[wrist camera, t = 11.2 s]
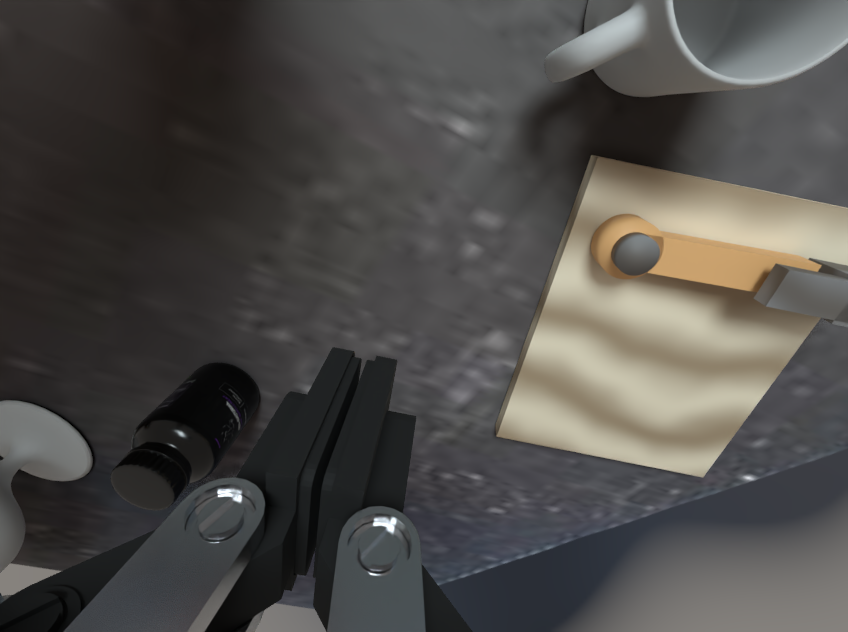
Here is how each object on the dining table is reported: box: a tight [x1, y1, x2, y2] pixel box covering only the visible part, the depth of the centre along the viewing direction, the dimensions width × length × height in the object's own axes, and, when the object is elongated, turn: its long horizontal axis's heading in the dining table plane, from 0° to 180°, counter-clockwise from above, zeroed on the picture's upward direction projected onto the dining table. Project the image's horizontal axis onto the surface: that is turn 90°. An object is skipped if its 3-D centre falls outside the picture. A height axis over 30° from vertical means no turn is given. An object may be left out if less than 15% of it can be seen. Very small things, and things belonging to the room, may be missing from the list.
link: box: [591, 214, 822, 292], centre depth 27 cm, size 14×4×2 cm, turn 81°
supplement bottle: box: [110, 363, 259, 510], centre depth 34 cm, size 7×7×12 cm
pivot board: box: [495, 155, 848, 477], centre depth 31 cm, size 25×20×6 cm
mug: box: [544, 0, 848, 97], centre depth 19 cm, size 12×8×11 cm
